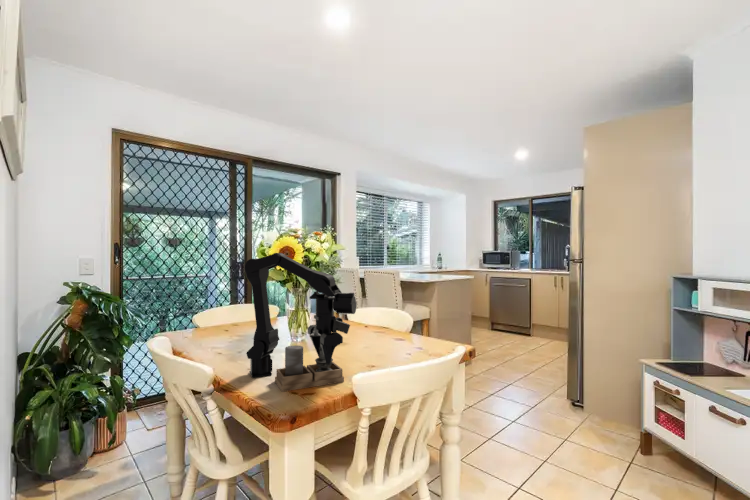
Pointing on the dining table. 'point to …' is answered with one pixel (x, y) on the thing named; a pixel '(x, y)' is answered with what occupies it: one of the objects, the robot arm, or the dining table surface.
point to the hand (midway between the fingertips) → (324, 360)
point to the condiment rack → (304, 372)
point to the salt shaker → (322, 362)
